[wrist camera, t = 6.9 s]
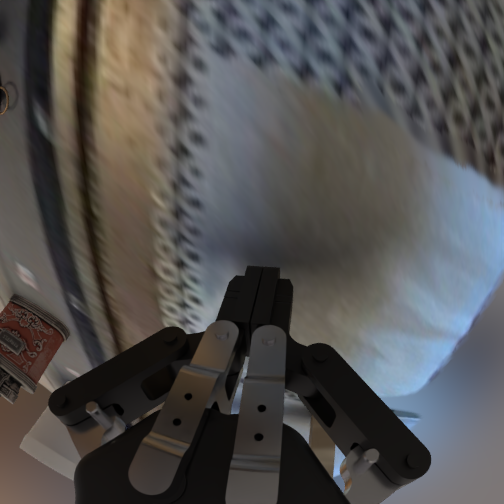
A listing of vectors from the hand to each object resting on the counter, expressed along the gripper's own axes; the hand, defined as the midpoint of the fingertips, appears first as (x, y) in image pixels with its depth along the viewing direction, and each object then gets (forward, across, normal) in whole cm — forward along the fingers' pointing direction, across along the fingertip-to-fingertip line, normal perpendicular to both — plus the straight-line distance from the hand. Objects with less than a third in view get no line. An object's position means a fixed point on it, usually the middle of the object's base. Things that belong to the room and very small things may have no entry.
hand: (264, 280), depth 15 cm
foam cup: (+2, +26, +26) cm, 37 cm away
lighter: (+2, +23, +9) cm, 25 cm away
